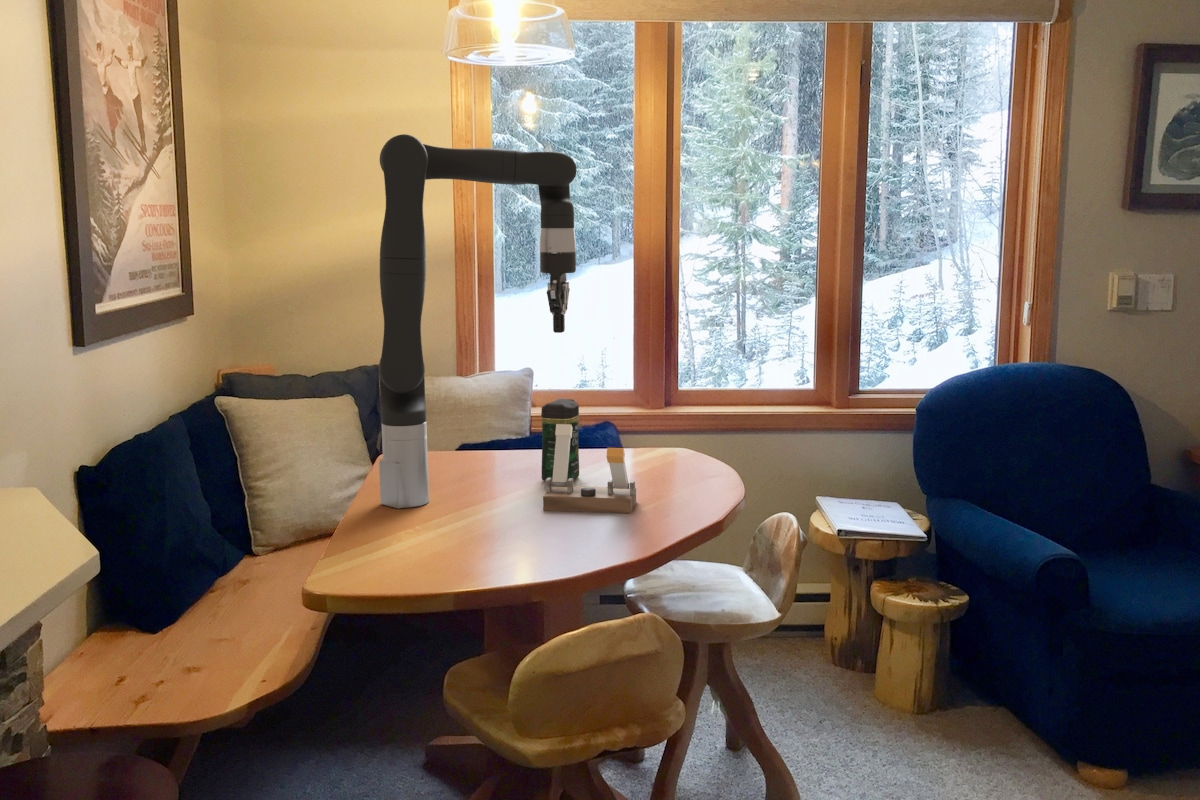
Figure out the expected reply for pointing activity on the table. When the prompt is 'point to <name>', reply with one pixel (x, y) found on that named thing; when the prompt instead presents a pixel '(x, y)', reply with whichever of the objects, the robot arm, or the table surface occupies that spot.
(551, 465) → the coffee jar
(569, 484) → the console
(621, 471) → the lever orange
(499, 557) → the table surface
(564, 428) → the lever ivory
